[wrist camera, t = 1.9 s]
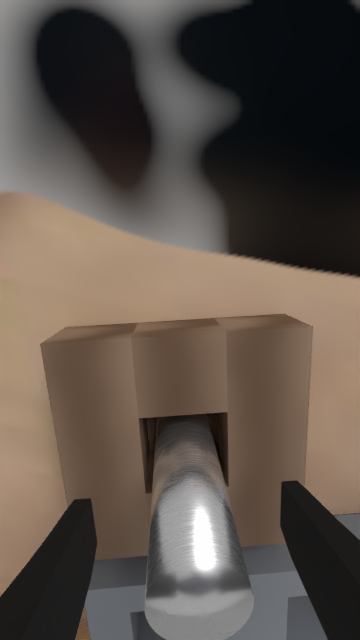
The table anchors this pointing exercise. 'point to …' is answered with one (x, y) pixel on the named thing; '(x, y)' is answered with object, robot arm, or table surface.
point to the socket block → (179, 399)
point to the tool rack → (266, 581)
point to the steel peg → (193, 539)
